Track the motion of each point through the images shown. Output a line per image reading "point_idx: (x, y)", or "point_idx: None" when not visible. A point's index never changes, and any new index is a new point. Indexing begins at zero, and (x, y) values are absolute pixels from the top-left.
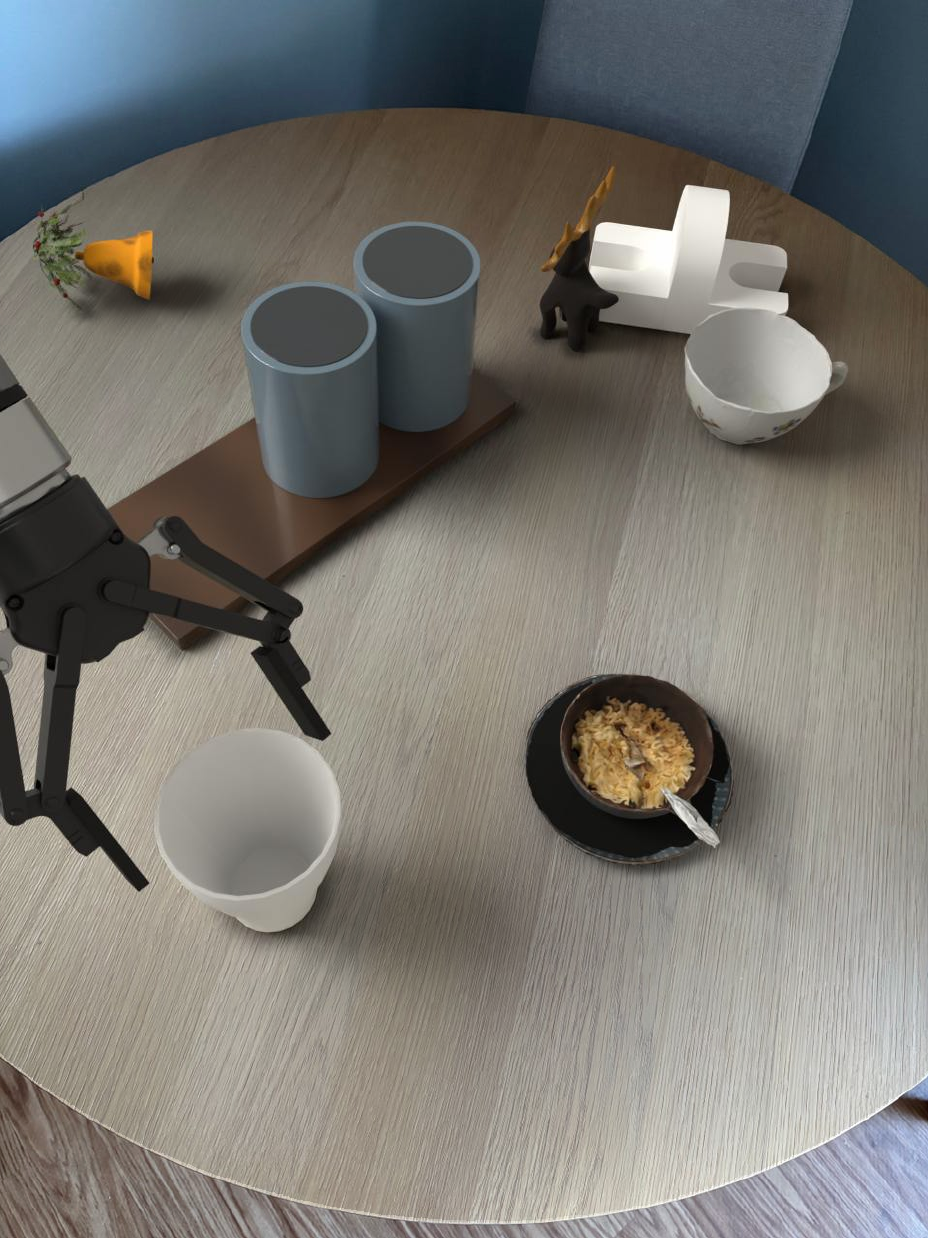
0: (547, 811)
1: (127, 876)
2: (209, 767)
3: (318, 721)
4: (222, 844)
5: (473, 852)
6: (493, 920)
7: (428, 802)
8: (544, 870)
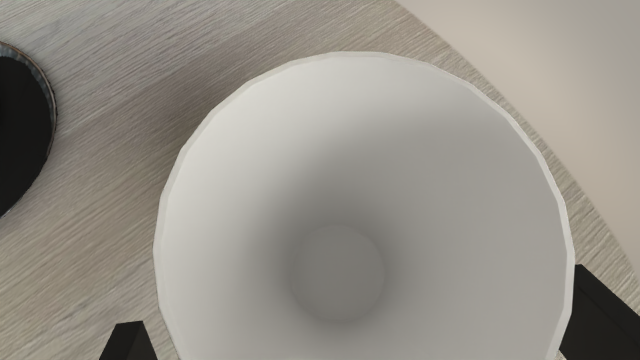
0: (43, 151)
1: (608, 290)
2: None
3: (110, 357)
4: (373, 329)
5: (140, 172)
6: (178, 109)
7: (133, 249)
8: (102, 116)
